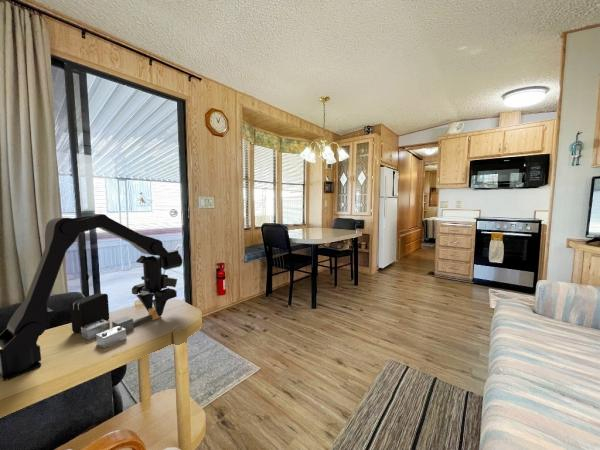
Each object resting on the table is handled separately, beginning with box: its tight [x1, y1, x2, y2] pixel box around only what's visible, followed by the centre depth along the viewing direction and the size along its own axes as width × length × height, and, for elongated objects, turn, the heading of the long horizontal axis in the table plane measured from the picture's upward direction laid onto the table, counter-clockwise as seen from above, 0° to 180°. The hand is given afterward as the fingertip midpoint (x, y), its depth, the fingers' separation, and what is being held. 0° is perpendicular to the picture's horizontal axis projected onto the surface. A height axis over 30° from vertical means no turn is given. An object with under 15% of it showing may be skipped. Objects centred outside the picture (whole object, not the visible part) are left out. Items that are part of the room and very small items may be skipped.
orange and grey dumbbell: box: [109, 306, 162, 332], centre depth 88 cm, size 16×4×4 cm, turn 151°
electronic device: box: [69, 293, 110, 333], centre depth 87 cm, size 4×10×10 cm, turn 174°
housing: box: [80, 319, 127, 349], centre depth 79 cm, size 6×14×4 cm, turn 61°
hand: (155, 314), depth 94 cm, fingers open, 6 cm apart
